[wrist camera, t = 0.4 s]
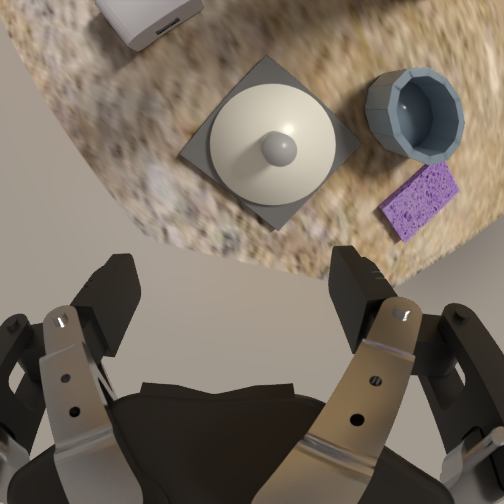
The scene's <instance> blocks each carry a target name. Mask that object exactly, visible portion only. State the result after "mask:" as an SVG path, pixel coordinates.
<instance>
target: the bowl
mask: <svg viewBox="0 0 504 504" xmlns="http://www.w3.org/2000/svg"><path fill="white" fill-rule="evenodd" d="M365 113H366V116H367V120H368V124H369V128H370V132H371V133H372V134H373V135H374V137H375V138H376V139H377V140H378V141H379V142H380V144H381V145H382V146H383V147H384V148H385V149H386V150H389V151H391V152H394V153H397V154H400V155H402V156H405V157H408V158H411V159H413V160H416V161H419V162H422V163H424V164H427V165H433V164H436V163H440V162H443V161H447V160H448V159H449V158H450V157H451V155H452V154H453V153H454V152H455V151H456V149H457V148H458V147H459V146H460V143H461V139H462V134H463V129H464V124H465V121H464V115H463V110H462V105H461V100H460V98H459V96H458V95H457V93H456V91H455V90H454V88H453V87H452V85H451V84H450V82H449V81H448V79H447V78H445V77H444V76H442V75H440V74H439V73H437V72H435V71H434V70H432V69H430V68H428V67H424V68H411V69H404V70H398V71H393V72H388V73H383V74H382V75H381V76H380V77H379V78H378V79H377V80H376V81H375V82H374V83H373V84H372V85H371V86H370V87H369V90H368V95H367V100H366V104H365Z"/></svg>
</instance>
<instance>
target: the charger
mask: <svg viewBox="0 0 504 504" xmlns="http://www.w3.org/2000/svg"><path fill="white" fill-rule="evenodd" d="M95 5H96V6H97V7H98V8H99V10H100V11H101V12H102V14H103V15H104V16H105V18H106V19H107V20H108V21H109V23H110V24H111V25H112V27H113V28H114V29H115V31H116V32H117V33H118V35H119V36H120V37H121V39H122V40H123V41H124V42H125V44H126V45H127V46H128V47H129V48H131V49H133V50H135V51H137V52H138V51H141V50H143V49H144V48H146V47H147V46H148V45H150V44H151V43H152V42H154V41H155V40H157V39H158V38H159V37H161V36H162V35H164V34H165V33H167V32H168V31H170V30H171V29H173V28H174V27H176V26H177V25H179V24H180V23H182V22H183V21H185V20H187V19H188V18H190V17H192V16H193V15H195V14H197V13H198V12H200V11H201V10H202V9H203V8H204V7H203V4H202V2H201V0H96V3H95ZM179 19H180V21H179V22H177V23H175V22H176V21H178V20H179ZM173 23H175V24H174V25H172V26H171V27H169V28H168V29H166V30H165V31H163V30H164V29H165V28H167V27H168V26H170V25H171V24H173ZM161 31H163V32H162V33H161V34H159V35H157V34H158V33H160V32H161Z"/></svg>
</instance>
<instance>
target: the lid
mask: <svg viewBox="0 0 504 504" xmlns="http://www.w3.org/2000/svg"><path fill="white" fill-rule="evenodd" d="M335 147H336V142H335V134H334V129H333V126H332V123H331V121H330V119H329V117H328V115H327V113H326V112H325V110H324V109H323V108H322V106H321V105H320V104H319V103H318V102H317V101H316V100H315V99H313V98H312V97H311V96H310V95H308V94H307V93H305V92H303V91H301V90H299V89H297V88H294V87H291V86H288V85H282V84H263V85H258V86H254V87H251V88H248V89H246V90H244V91H242V92H240V93H238V94H237V95H235V96H234V97H233V98H232V99H230V100H229V101H228V102H227V103H226V104H225V105H224V107H223V108H222V109H221V111H220V112H219V114H218V116H217V117H216V119H215V122H214V124H213V127H212V131H211V137H210V152H211V158H212V161H213V164H214V167H215V169H216V171H217V173H218V175H219V176H220V178H221V179H222V181H223V182H224V183H225V184H226V185H227V186H228V187H229V188H230V189H231V190H232V191H233V192H235V193H236V194H237V195H239V196H241V197H242V198H244V199H246V200H249V201H252V202H254V203H258V204H263V205H282V204H288V203H292V202H295V201H297V200H300V199H302V198H304V197H305V196H307V195H309V194H310V193H311V192H313V191H314V190H315V189H316V188H317V187H318V186H319V185H320V184H321V183H322V182H323V181H324V179H325V178H326V176H327V175H328V173H329V171H330V169H331V166H332V163H333V160H334V156H335Z"/></svg>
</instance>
